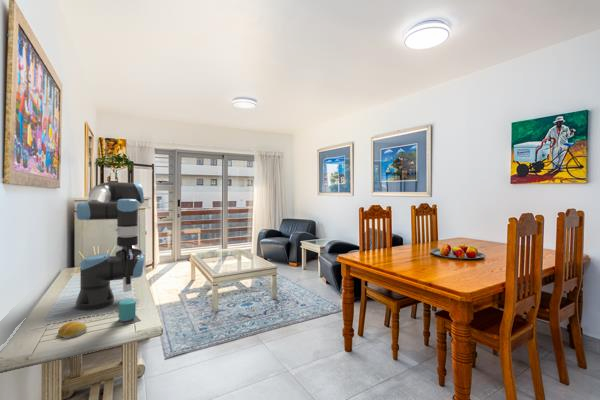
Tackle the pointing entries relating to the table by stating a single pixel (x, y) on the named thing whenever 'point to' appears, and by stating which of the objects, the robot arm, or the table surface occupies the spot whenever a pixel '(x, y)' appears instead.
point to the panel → (130, 321)
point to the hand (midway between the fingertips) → (127, 291)
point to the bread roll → (72, 329)
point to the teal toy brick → (126, 310)
